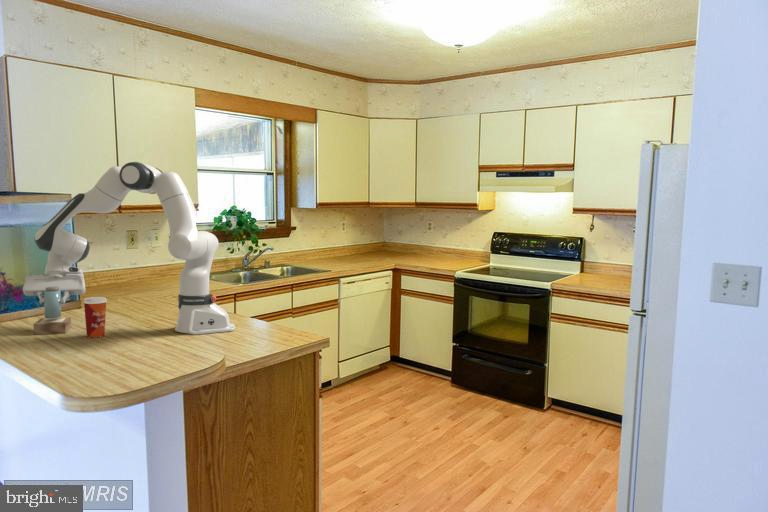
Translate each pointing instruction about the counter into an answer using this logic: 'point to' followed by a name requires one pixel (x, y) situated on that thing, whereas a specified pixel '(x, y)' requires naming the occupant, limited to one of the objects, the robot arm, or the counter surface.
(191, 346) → the counter surface
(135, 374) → the counter surface
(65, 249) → the robot arm
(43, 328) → the base
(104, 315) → the paper cup
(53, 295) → the jar
